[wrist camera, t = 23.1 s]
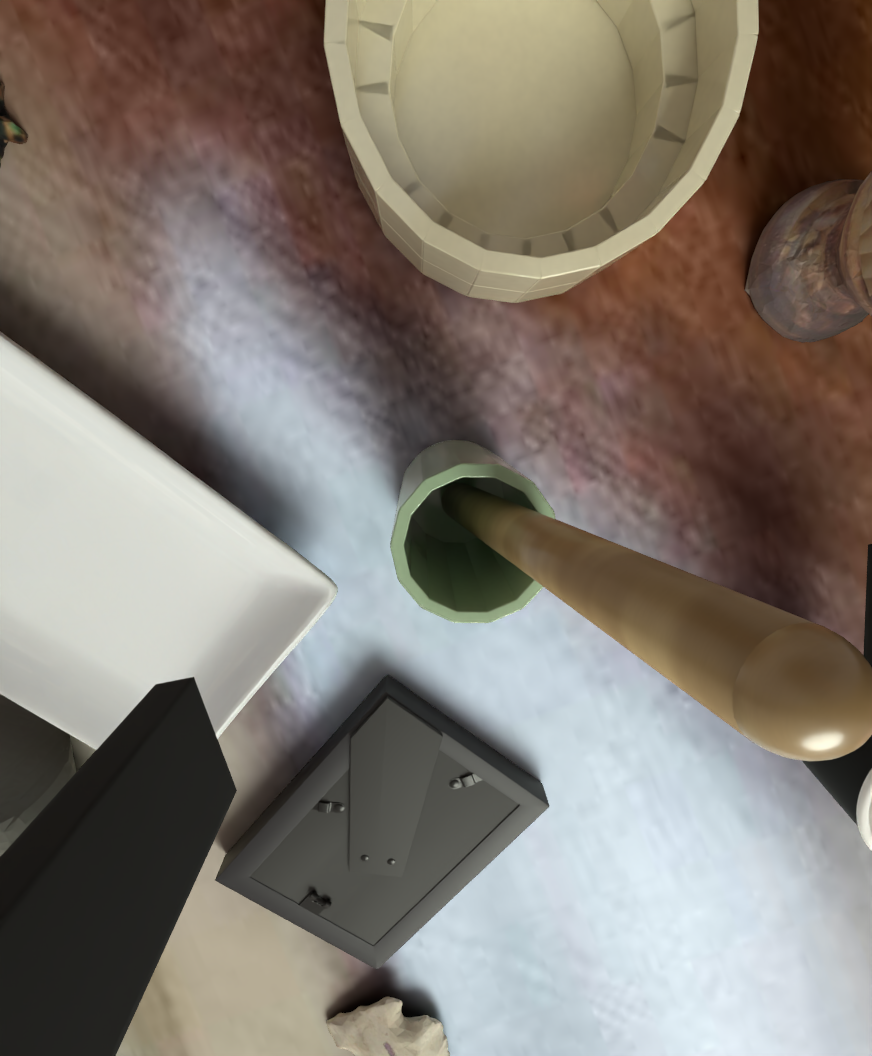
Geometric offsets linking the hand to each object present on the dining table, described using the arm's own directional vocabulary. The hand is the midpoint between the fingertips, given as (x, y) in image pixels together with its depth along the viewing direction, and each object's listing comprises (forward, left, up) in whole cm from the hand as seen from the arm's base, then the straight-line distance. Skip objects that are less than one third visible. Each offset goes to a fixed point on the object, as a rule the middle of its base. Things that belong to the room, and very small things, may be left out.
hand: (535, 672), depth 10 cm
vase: (0, 0, -19) cm, 19 cm away
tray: (+23, -4, -19) cm, 30 cm away
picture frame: (+9, +21, -19) cm, 30 cm away
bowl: (-6, -17, -19) cm, 26 cm away
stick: (0, 0, -18) cm, 18 cm away
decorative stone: (+12, +42, -19) cm, 48 cm away
